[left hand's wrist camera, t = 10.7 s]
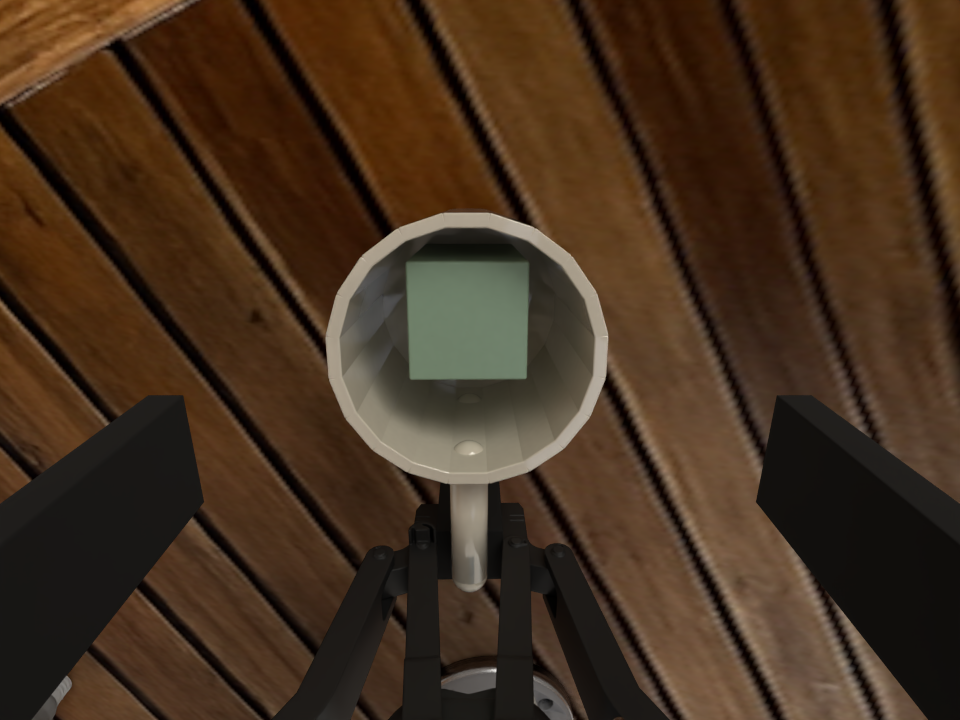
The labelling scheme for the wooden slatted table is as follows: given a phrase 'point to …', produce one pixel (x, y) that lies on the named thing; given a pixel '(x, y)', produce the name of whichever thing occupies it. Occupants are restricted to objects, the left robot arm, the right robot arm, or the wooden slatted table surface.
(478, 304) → the block
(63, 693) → the light bulb
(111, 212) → the wooden slatted table surface
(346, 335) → the mug
